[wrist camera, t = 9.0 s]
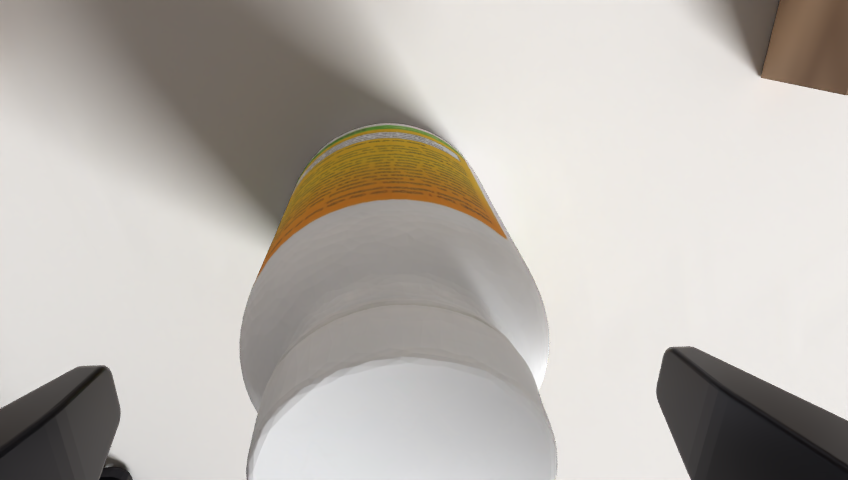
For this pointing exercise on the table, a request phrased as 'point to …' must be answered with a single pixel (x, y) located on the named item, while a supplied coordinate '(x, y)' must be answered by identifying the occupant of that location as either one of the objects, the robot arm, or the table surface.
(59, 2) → the table surface
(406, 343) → the supplement bottle
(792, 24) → the walnut stall
